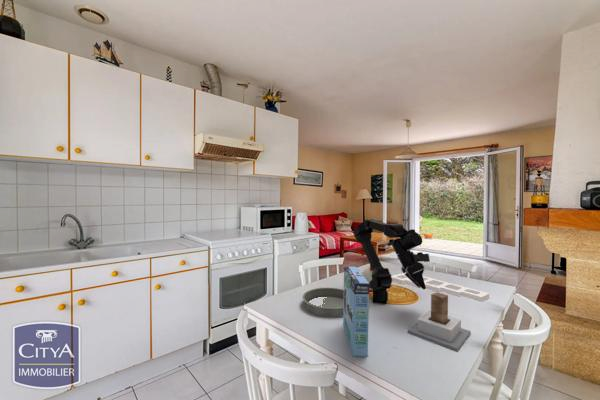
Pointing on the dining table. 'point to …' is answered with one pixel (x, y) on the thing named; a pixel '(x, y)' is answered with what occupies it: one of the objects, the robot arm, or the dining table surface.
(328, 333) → the dining table surface
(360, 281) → the gum box
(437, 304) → the walnut peg
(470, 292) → the holder
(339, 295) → the cake pan
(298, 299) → the dining table surface
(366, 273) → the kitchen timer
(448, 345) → the socket board
